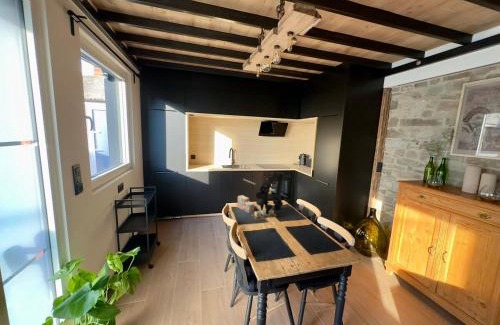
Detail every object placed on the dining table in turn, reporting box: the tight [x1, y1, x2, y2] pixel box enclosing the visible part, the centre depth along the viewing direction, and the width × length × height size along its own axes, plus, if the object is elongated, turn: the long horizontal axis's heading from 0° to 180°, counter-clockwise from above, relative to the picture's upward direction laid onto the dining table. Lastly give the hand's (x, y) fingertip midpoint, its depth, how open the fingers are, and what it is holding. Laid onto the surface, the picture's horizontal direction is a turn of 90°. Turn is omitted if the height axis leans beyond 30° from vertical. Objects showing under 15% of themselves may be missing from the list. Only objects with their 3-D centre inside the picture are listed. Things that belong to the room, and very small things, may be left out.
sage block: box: [260, 209, 267, 216], centre depth 189 cm, size 4×4×4 cm
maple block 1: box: [253, 210, 261, 217], centre depth 186 cm, size 4×4×4 cm
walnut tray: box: [251, 212, 277, 221], centre depth 189 cm, size 22×11×2 cm, turn 116°
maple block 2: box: [268, 208, 275, 215], centre depth 192 cm, size 4×4×4 cm
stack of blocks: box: [236, 194, 255, 214], centre depth 202 cm, size 21×6×12 cm, turn 36°
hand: (264, 212), depth 189 cm, fingers open, 9 cm apart
